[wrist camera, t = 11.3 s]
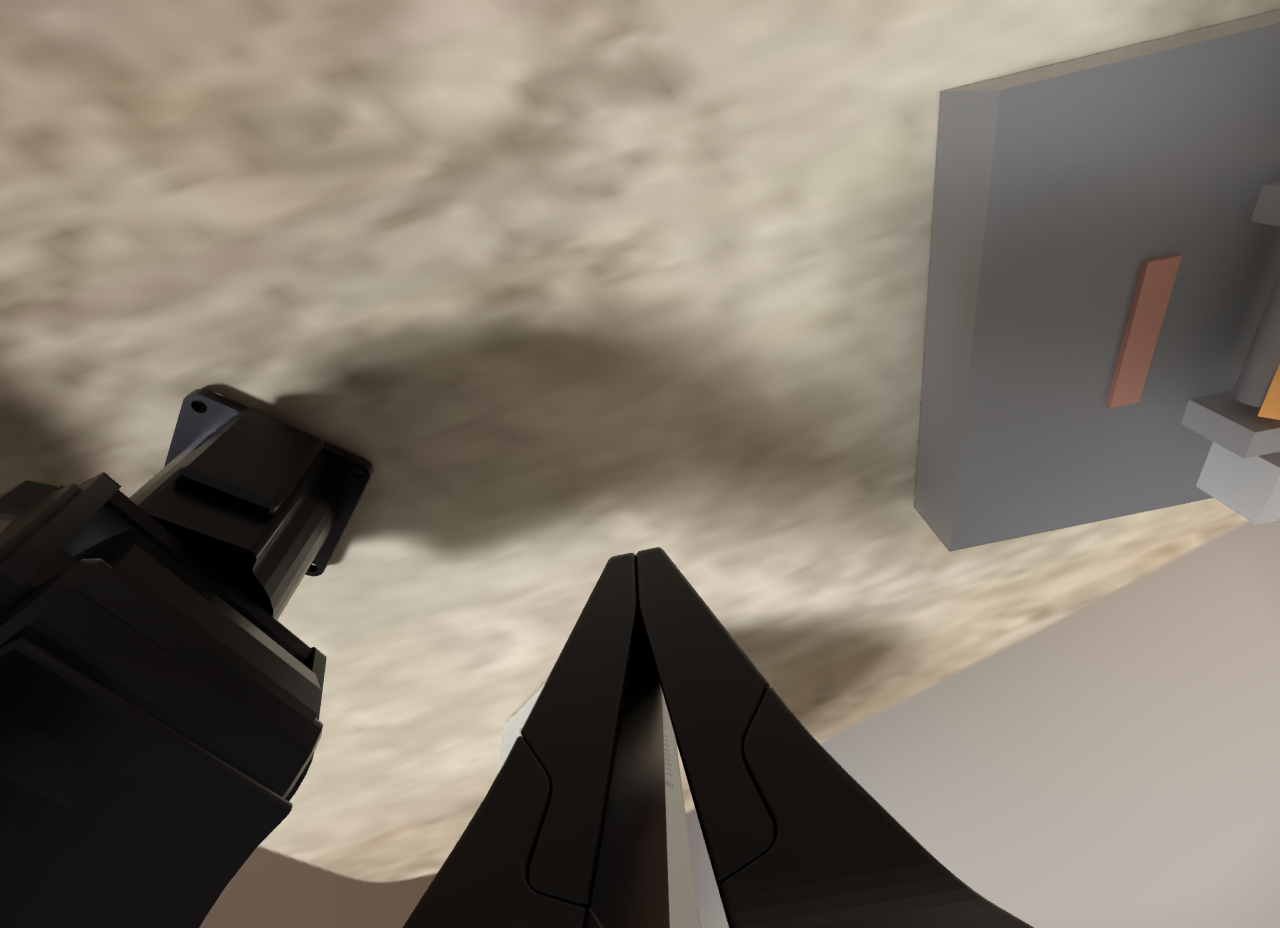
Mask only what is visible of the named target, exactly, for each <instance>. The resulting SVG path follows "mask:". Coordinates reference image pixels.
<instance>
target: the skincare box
mask: <svg viewBox="0 0 1280 928" xmlns="http://www.w3.org/2000/svg"><path fill="white" fill-rule="evenodd" d="M545 683H546V682H545ZM545 683H544V684H543V686H542V687H541V688H540V689H539V690H538V691H537V692H536V693H535V694H534V695H533V696H532V698H531V699H530V700H529V701H528V702H527V703H526V704H525V705H524V706H523V707H522V708H521V709H520V710H519V711H518V712H517V713H516V714H514V715H513V716H512V717H511V718H510V719H509V720H508V721H507V723H506V724H505V726H504V730H503V738H502V745H501V753H500V761H499V769H498V773H499V771H500V770H501V768H502V766H503V764H504V762H505V760H506V758H507V756H508V755H509V753H510V751H511V749H512V747H513V745H514V743H515V741H516V739H517V737H518V736H521V730H522V728H523V726H524V724H525V722H526V720H527V718H528V716H529V714H530V712H531V710H532V708H533V706H534V704H535V702H536V701H537V699H538V697H539V695H540V693H541V691H542V689H543V687H544V685H545ZM662 704H663V734H664V765H665V795H666V826H667V856H668V887H669V917H670V928H701V925H700V917H699V910H698V903H697V896H696V890H695V889H696V888H695V881H694V873H693V865H692V858H691V851H690V844H689V836H688V829H687V822H686V814H685V807H684V799H683V791H682V783H681V775H680V768H679V760H678V753H677V745H676V738H675V735H674V731H673V727H672V724H671V720H670V717H669V713H668V710H667V706H666V703H665V699H664V696H663V692H662Z"/></svg>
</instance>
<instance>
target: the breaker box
mask: <svg viewBox="0 0 1280 928" xmlns="http://www.w3.org/2000/svg"><path fill="white" fill-rule="evenodd" d="M1279 271H1280V9H1279V10H1275V11H1271V12H1267V13H1263V14H1258V15H1254V16H1250V17H1246V18H1242V19H1238V20H1234V21H1230V22H1225V23H1221V24H1217V25H1213V26H1209V27H1205V28H1201V29H1196V30H1192V31H1188V32H1184V33H1180V34H1176V35H1172V36H1168V37H1163V38H1159V39H1155V40H1151V41H1147V42H1143V43H1139V44H1134V45H1130V46H1126V47H1122V48H1118V49H1114V50H1110V51H1105V52H1101V53H1097V54H1093V55H1089V56H1085V57H1081V58H1077V59H1072V60H1068V61H1064V62H1060V63H1056V64H1052V65H1048V66H1043V67H1039V68H1035V69H1031V70H1027V71H1023V72H1019V73H1014V74H1010V75H1006V76H1002V77H998V78H994V79H990V80H986V81H981V82H977V83H973V84H969V85H965V86H961V87H957V88H952V89H948V90H944V91H940V105H939V121H938V137H937V153H936V169H935V185H934V201H933V217H932V233H931V249H930V265H929V281H928V297H927V313H926V329H925V345H924V360H923V376H922V392H921V408H920V424H919V440H918V456H917V472H916V488H915V504H914V508H915V509H916V510H917V511H918V513H919V514H920V515H921V516H922V518H923V519H924V520H925V521H926V523H927V524H928V525H929V526H930V528H931V529H932V530H933V531H934V533H935V534H936V535H937V536H938V538H939V539H940V540H941V541H942V543H943V544H944V545H945V546H946V548H947V549H948V550H949V551H954V550H959V549H964V548H969V547H974V546H978V545H983V544H988V543H993V542H998V541H1003V540H1008V539H1013V538H1018V537H1023V536H1028V535H1032V534H1037V533H1042V532H1047V531H1052V530H1057V529H1062V528H1067V527H1072V526H1077V525H1082V524H1086V523H1091V522H1096V521H1101V520H1106V519H1111V518H1116V517H1121V516H1126V515H1131V514H1136V513H1140V512H1145V511H1150V510H1155V509H1160V508H1165V507H1170V506H1175V505H1180V504H1185V503H1190V502H1194V501H1199V500H1204V499H1209V498H1215V499H1217V500H1218V501H1220V502H1221V503H1223V504H1224V505H1226V506H1228V507H1229V508H1231V509H1232V510H1234V511H1235V512H1237V513H1239V514H1240V515H1242V516H1243V517H1245V518H1246V519H1248V520H1250V521H1251V522H1253V523H1254V524H1261V523H1265V522H1271V521H1275V520H1280V420H1277V419H1271V418H1265V417H1259V416H1258V414H1259V411H1260V409H1261V408H1260V407H1255V406H1251V405H1247V404H1245V403H1242V402H1240V401H1238V400H1237V399H1235V398H1234V396H1233V390H1234V388H1235V385H1236V383H1237V380H1238V378H1239V375H1240V372H1241V370H1242V367H1243V365H1244V362H1245V359H1246V357H1247V354H1248V352H1249V349H1250V346H1251V344H1252V341H1253V339H1254V336H1255V334H1256V331H1257V328H1258V326H1259V323H1260V321H1261V318H1262V315H1263V313H1264V310H1265V308H1266V305H1267V302H1268V300H1269V297H1270V295H1271V292H1272V289H1273V287H1274V284H1275V282H1276V279H1277V277H1278V274H1279Z"/></svg>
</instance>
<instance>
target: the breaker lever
mask: <svg viewBox="0 0 1280 928" xmlns="http://www.w3.org/2000/svg"><path fill="white" fill-rule="evenodd" d="M1233 396H1234V398H1235V399H1237V400H1238V401H1240V402H1242V403H1245V404H1247V405H1251V406H1255V407H1260V408H1261V409H1260V411H1259V414H1258V416H1259V417H1265V418H1271V419H1277V420H1280V271H1279V274H1278V277H1277V279H1276V282H1275V284H1274V287H1273V289H1272V292H1271V295H1270V297H1269V300H1268V302H1267V305H1266V308H1265V310H1264V313H1263V315H1262V318H1261V321H1260V323H1259V326H1258V328H1257V331H1256V334H1255V336H1254V339H1253V341H1252V344H1251V346H1250V349H1249V352H1248V354H1247V357H1246V359H1245V362H1244V365H1243V367H1242V370H1241V372H1240V375H1239V378H1238V380H1237V383H1236V385H1235V388H1234V390H1233Z"/></svg>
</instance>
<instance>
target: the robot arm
mask: <svg viewBox="0 0 1280 928" xmlns="http://www.w3.org/2000/svg"><path fill="white" fill-rule="evenodd" d="M198 401H201V402H203V403H205V405H206V406H207V408H204V407H202V406H201V405H200V404H199V403H198ZM353 468H358V469H360V470H361V471H362V472H363V473H357V472H356V471H354V469H353ZM372 473H373V467H372V465H371V463H370V462H369V461H367V460H366V459H364V458H362V457H360V456H357V455H355V454H353V453H350V452H348V451H346V450H344V449H341V448H339V447H337V446H334V445H332V444H330V443H327V442H325V441H323V440H321V439H319V438H317V437H315V436H313V435H310V434H308V433H306V432H303V431H301V430H299V429H297V428H294V427H292V426H290V425H287V424H285V423H283V422H280V421H278V420H276V419H274V418H271V417H269V416H267V415H264V414H262V413H260V412H257V411H255V410H252V409H249V408H247V407H245V406H242V405H240V404H238V403H236V402H233V401H231V400H229V399H226V398H224V397H222V396H219V395H217V394H215V393H213V392H210V391H208V390H204V389H197V390H195V391H192V392H191V393H190V394H188V395H187V396H186V397H185V398H184V400H183V403H182V407H181V410H180V414H179V417H178V421H177V424H176V428H175V431H174V435H173V438H172V442H171V445H170V449H169V452H168V456H167V459H166V463H165V466H164V468H163V469H162V470H161V471H160V472H158V473H157V474H156V475H155V476H154V477H153V478H151V479H150V480H149V481H148V482H147V483H146V484H144V485H143V486H142V487H141V488H140V489H139V490H138V491H136V492H135V493H134V494H133V495H132V496H131V497H129V498H128V497H127V496H126V495H124V494H123V493H122V492H121V491H120V490H118V489H119V488H120V487H121V486H120V485H119V484H118V483H116V482H115V481H114V480H113V479H112V478H110V477H109V476H108V475H107V474H106V473H104V472H103V473H101V474H99V475H97V476H95V477H93V478H91V479H90V480H88V481H86V482H84V483H82V484H80V485H78V484H76V483H73V484H70V485H68V486H66V487H64V486H63V485H61V486H59V487H56V486H51V485H47V484H42V483H37V482H32V481H27V480H26V481H24V482H22V483H21V484H19V485H17V486H15V487H13V488H11V489H10V490H8V491H7V492H5V493H4V494H2V495H1V496H0V928H199V927H200V925H201V924H202V922H203V920H204V919H205V917H206V916H207V914H208V912H209V911H210V909H211V908H212V906H213V905H214V903H215V902H216V900H217V899H218V897H219V896H220V894H221V893H222V891H223V890H224V888H225V887H226V885H227V884H228V883H229V881H230V880H231V879H232V878H233V876H234V875H235V874H236V873H237V871H238V870H239V869H240V868H241V866H242V865H243V864H244V862H245V861H246V860H247V859H248V857H249V856H250V855H251V854H252V852H253V851H254V850H255V849H256V847H257V846H258V845H259V844H260V843H261V842H262V841H263V840H264V839H265V838H266V837H267V836H268V835H269V834H270V833H271V832H272V831H273V830H274V829H275V828H276V827H277V826H278V825H279V824H280V823H281V822H282V821H283V820H284V819H285V818H286V817H287V815H288V814H289V813H290V811H291V809H292V803H290V802H289V801H290V799H291V798H292V797H293V795H294V794H295V793H296V791H297V789H298V788H299V786H300V784H301V783H302V781H303V779H304V777H305V776H306V774H307V771H308V769H309V766H310V764H311V762H312V759H313V755H314V751H315V749H316V746H317V744H318V742H319V740H320V738H321V734H322V727H323V724H322V722H320V721H319V714H320V706H321V698H322V690H323V682H324V673H325V665H326V656H325V655H324V654H322V653H321V652H320V651H319V650H318V649H316V648H315V647H312V648H310V647H309V646H308V645H306V644H305V643H304V642H303V641H301V640H300V639H299V638H298V637H297V636H295V635H294V634H293V633H292V632H291V631H289V630H288V629H287V628H286V627H284V626H283V625H282V624H281V623H280V622H278V621H277V620H278V618H279V617H280V615H281V613H282V612H283V610H284V608H285V607H286V605H287V603H288V602H289V600H290V598H291V597H292V595H293V593H294V592H295V590H296V588H297V587H298V585H299V583H300V582H301V580H302V578H303V577H304V575H305V574H306V575H309V576H319V575H321V574H322V573H323V572H324V570H325V568H326V567H327V565H328V563H329V561H330V559H331V556H332V554H333V552H334V550H335V548H336V546H337V544H338V542H339V540H340V538H341V536H342V534H343V532H344V530H345V528H346V526H347V524H348V522H349V520H350V518H351V516H352V514H353V512H354V510H355V508H356V506H357V504H358V502H359V500H360V498H361V496H362V494H363V492H364V489H365V487H366V485H367V483H368V481H369V479H370V477H371V475H372ZM311 563H313V564H315V565H316V566H315V565H312V564H311ZM662 692H663V696H664V699H665V703H666V706H667V710H668V713H669V717H670V720H671V724H672V727H673V731H674V735H675V738H676V742H677V745H678V749H679V752H680V756H681V759H682V763H683V766H684V770H685V773H686V777H687V780H688V784H689V787H690V791H691V795H692V798H693V802H694V805H695V809H696V812H697V816H698V819H699V822H700V826H701V830H702V833H703V837H704V840H705V844H706V848H707V851H708V854H709V858H710V861H711V865H712V869H713V872H714V876H715V879H716V883H717V886H718V889H719V893H720V897H721V900H722V904H723V908H724V911H725V915H726V918H727V922H728V925H729V928H1034V927H1032V926H1030V925H1029V924H1027V923H1025V922H1024V921H1022V920H1020V919H1018V918H1017V917H1015V916H1013V915H1012V914H1010V913H1008V912H1007V911H1005V910H1003V909H1001V908H1000V907H998V906H996V905H995V904H993V903H992V902H990V901H988V900H987V899H985V898H984V897H982V896H981V895H979V894H978V893H977V892H975V891H974V890H972V889H971V888H970V887H969V886H967V885H966V884H965V883H963V882H962V881H961V880H960V879H958V878H957V877H956V876H955V875H954V874H952V873H951V872H950V871H949V870H948V869H947V868H946V867H944V866H943V865H942V864H941V863H940V862H939V861H938V860H936V859H935V858H934V857H933V856H932V855H931V854H930V853H929V852H928V851H927V850H926V849H925V848H924V847H923V846H922V845H921V844H920V843H919V842H918V841H917V840H916V839H914V837H913V836H912V835H911V834H910V833H908V832H907V831H906V830H905V829H904V828H903V827H902V826H901V825H900V824H899V823H898V822H897V821H896V820H895V819H894V818H893V817H892V816H891V815H890V814H889V813H888V812H887V811H886V810H885V809H884V808H883V807H882V806H881V805H880V804H879V803H878V802H877V801H876V800H875V799H874V798H873V797H871V795H870V794H869V793H868V792H867V791H866V790H865V789H864V788H863V787H862V786H861V785H859V784H858V783H857V781H856V780H854V779H853V778H852V777H851V776H850V775H849V774H848V773H847V772H846V771H845V770H844V769H843V768H842V767H841V766H840V765H839V764H838V763H837V761H835V759H834V758H833V757H832V756H831V755H830V754H829V753H828V752H827V751H826V750H825V749H824V748H823V747H822V746H821V745H820V744H819V743H818V742H817V741H816V740H815V739H814V737H813V736H812V735H811V734H810V733H809V732H808V730H807V729H806V728H805V727H804V726H803V725H802V723H801V722H800V721H799V720H798V719H797V718H796V716H795V715H794V714H793V713H792V712H791V710H790V709H789V708H788V707H787V706H786V704H785V703H784V702H783V701H782V699H781V698H780V697H779V695H778V694H777V693H776V692H775V690H774V689H773V688H770V685H769V683H768V682H767V681H766V679H765V678H764V677H763V676H762V674H761V673H760V672H759V671H758V669H757V668H756V667H755V666H754V664H753V663H752V662H751V660H750V659H749V658H748V657H747V655H746V654H745V653H744V652H743V650H742V649H741V648H740V646H739V645H738V644H737V643H736V641H735V640H734V639H733V638H732V636H731V635H730V634H729V633H728V631H727V630H726V629H725V627H724V626H723V625H722V624H721V622H720V621H719V620H718V619H717V617H716V616H715V615H714V614H713V612H712V611H711V610H710V608H709V607H708V606H707V605H706V603H705V602H704V601H703V600H702V598H701V597H700V596H699V595H698V593H697V592H696V591H695V589H694V588H693V587H692V586H691V584H690V583H689V582H688V581H687V579H686V578H685V577H684V576H683V574H682V573H681V572H680V570H679V569H678V568H677V567H676V565H675V564H674V563H673V562H672V560H671V559H670V558H669V557H668V555H667V554H666V553H665V551H664V550H663V549H661V548H659V547H657V548H652V549H647V550H642V551H639V552H638V553H637V555H635V554H634V553H628V554H623V555H618V556H613V557H611V558H610V559H609V560H608V562H607V564H606V566H605V568H604V570H603V572H602V574H601V576H600V578H599V580H598V582H597V584H596V586H595V588H594V589H593V591H592V593H591V595H590V597H589V599H588V601H587V603H586V605H585V607H584V609H583V611H582V613H581V615H580V617H579V619H578V621H577V623H576V625H575V626H574V628H573V630H572V632H571V634H570V636H569V638H568V640H567V642H566V644H565V646H564V648H563V650H562V652H561V654H560V656H559V658H558V660H557V662H556V663H555V665H554V667H553V669H552V671H551V673H550V675H549V677H548V679H547V681H546V683H545V685H544V687H543V689H542V691H541V693H540V695H539V697H538V699H537V701H536V702H535V704H534V706H533V708H532V710H531V712H530V714H529V716H528V718H527V720H526V722H525V724H524V726H523V728H522V730H521V736H518V737H517V739H516V741H515V743H514V745H513V747H512V749H511V751H510V753H509V755H508V756H507V758H506V760H505V762H504V764H503V766H502V768H501V770H500V771H499V773H498V775H497V777H496V779H495V780H494V782H493V784H492V786H491V788H490V790H489V791H488V793H487V795H486V797H485V799H484V800H483V802H482V803H481V805H480V807H479V808H478V810H477V812H476V813H475V815H474V816H473V818H472V820H471V821H470V823H469V825H468V826H467V828H466V830H465V831H464V833H463V834H462V836H461V838H460V839H459V841H458V842H457V844H456V845H455V847H454V849H453V850H452V852H451V853H450V855H449V856H448V858H447V859H446V861H445V863H444V864H443V866H442V867H441V869H440V870H439V872H438V873H437V875H436V877H435V878H434V880H433V881H432V883H431V884H430V886H429V888H428V889H427V891H426V892H425V894H424V895H423V897H422V898H421V900H420V901H419V903H418V905H417V906H416V908H415V909H414V911H413V912H412V914H411V915H410V917H409V919H408V920H407V922H406V923H405V925H404V927H403V928H670V917H669V887H668V856H667V826H666V795H665V765H664V734H663V704H662Z"/></svg>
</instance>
